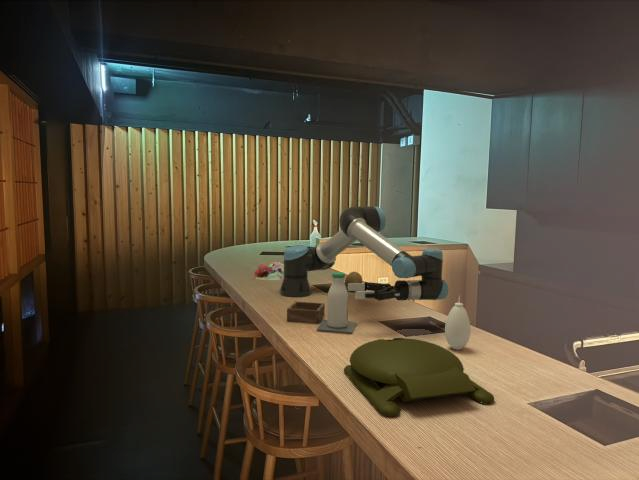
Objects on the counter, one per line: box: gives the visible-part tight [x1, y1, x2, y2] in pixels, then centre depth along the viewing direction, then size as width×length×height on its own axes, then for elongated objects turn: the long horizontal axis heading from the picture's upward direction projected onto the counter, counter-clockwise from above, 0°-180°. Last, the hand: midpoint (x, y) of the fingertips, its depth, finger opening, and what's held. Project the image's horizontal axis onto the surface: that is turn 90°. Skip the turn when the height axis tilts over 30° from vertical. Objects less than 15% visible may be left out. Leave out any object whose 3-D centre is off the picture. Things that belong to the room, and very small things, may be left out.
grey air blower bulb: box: [444, 295, 471, 351], centre depth 150 cm, size 8×8×18 cm
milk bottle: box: [326, 271, 349, 328], centre depth 171 cm, size 8×8×20 cm
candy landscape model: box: [253, 260, 284, 282], centre depth 269 cm, size 25×24×9 cm
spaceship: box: [343, 337, 495, 418], centre depth 124 cm, size 35×31×10 cm
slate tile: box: [316, 319, 357, 335], centre depth 172 cm, size 13×13×1 cm
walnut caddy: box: [286, 300, 326, 325], centre depth 183 cm, size 12×12×5 cm
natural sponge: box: [344, 271, 363, 288], centre depth 235 cm, size 9×9×10 cm
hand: (351, 291), depth 171 cm, fingers open, 13 cm apart
